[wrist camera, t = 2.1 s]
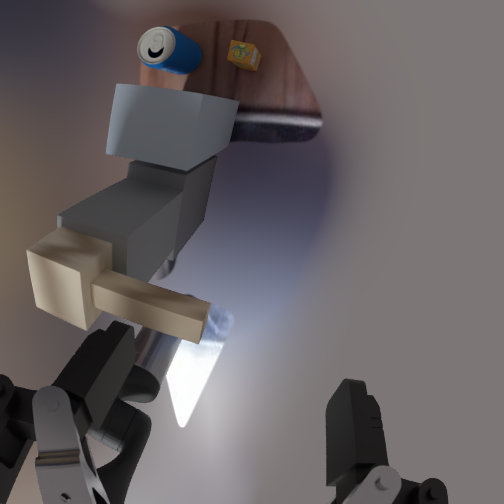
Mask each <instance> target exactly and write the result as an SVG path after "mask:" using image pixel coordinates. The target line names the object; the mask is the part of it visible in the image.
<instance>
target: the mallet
mask: <svg viewBox="0 0 504 504" xmlns="http://www.w3.org/2000/svg"><path fill="white" fill-rule="evenodd" d="M112 246H113V243H110V242H107V241H104V240H101V239H98V238H95V237H92V236H89V235H86V234H83V233H80V232H77V231H74V230H71V229H68V228H65V227H62V226H61V227H59V228H58V229H56V230H55V231H53V232H52V233H50V234H49V235H47V236H46V237H44V238H43V239H41V240H40V241H38V242H37V243H36V244H34V245H33V246H31V247H30V248H28V249H27V257H28V264H29V269H30V275H31V281H32V286H33V291H34V296H35V300H36V305H37V307H39V308H41V309H43V310H44V311H46V312H48V313H51V314H52V315H54V316H57V317H58V318H60V319H62V320H65V321H67V322H69V323H71V324H73V325H75V326H78V327H80V328H82V329H84V330H88V329H89V327H90V326H91V325H92V323H93V322H94V321H95V320H96V319H97V317H98V316H99V315H100V314H101V312H102V311H106V312H108V313H111V314H113V315H116V316H118V317H121V318H123V319H126V320H129V321H131V322H134V323H137V324H140V325H142V326H145V327H148V328H151V329H154V330H157V331H159V332H162V333H165V334H168V335H171V336H174V337H177V338H180V339H184V340H187V341H190V342H193V343H196V344H199V342H200V339H201V337H202V334H203V332H204V329H205V326H206V323H207V318H208V313H209V309H210V304H211V303H210V302H206V301H203V300H200V299H197V298H193V297H190V296H187V295H183V294H180V293H177V292H174V291H171V290H168V289H164V288H161V287H158V286H155V285H152V284H149V283H146V282H143V281H140V280H137V279H134V278H131V277H128V276H125V275H123V274H120V273H117V272H114V271H112Z"/></svg>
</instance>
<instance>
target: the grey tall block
mask: <svg viewBox="0 0 504 504" xmlns="http://www.w3.org/2000/svg"><path fill="white" fill-rule="evenodd" d="M239 102H240V101H236V100H231V99H227V98H222V97H216V96H211V95H206V94H200V93H194V92H188V91H181V90H174V89H166V88H158V87H150V86H140V85H129V84H117V85H116V90H115V95H114V101H113V106H112V112H111V119H110V125H109V133H108V140H107V149H106V154H110V155H115V156H120V157H125V158H130V159H135V160H140V161H145V162H149V163H154V164H159V165H163V166H168V167H172V168H176V169H181V170H185V171H188V170H189V169H191V168H193V167H194V166H196V165H198V164H199V163H201V162H203V161H205V160H206V159H208V158H210V157H211V156H213V155H215V154H217V153H218V152H220V151H222V150H224V149H225V148H227V147H228V146H229V142H230V138H231V134H232V130H233V125H234V121H235V117H236V113H237V109H238V106H239Z"/></svg>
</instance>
